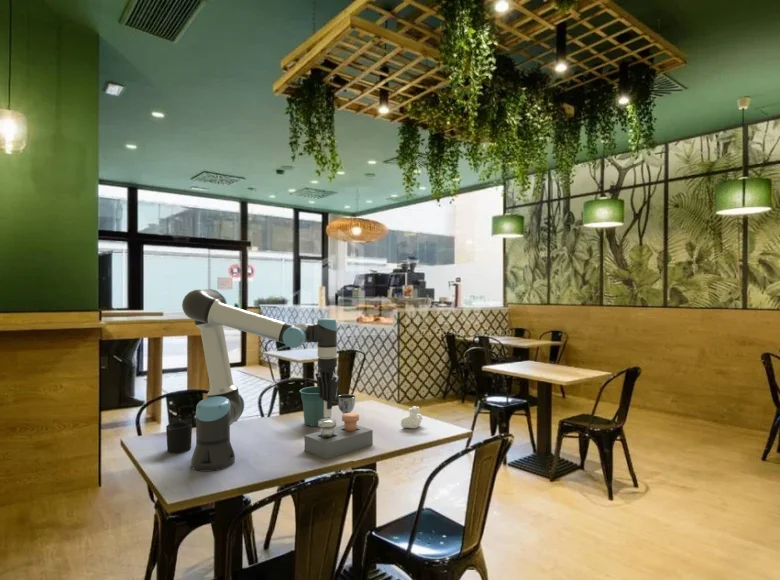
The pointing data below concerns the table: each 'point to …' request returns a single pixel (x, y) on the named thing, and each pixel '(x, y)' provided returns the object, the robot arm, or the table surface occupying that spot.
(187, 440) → the pen holder
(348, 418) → the peach rounded piece
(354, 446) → the press console
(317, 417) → the flower pot
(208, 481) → the table surface
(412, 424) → the bust
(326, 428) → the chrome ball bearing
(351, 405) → the wine glass
